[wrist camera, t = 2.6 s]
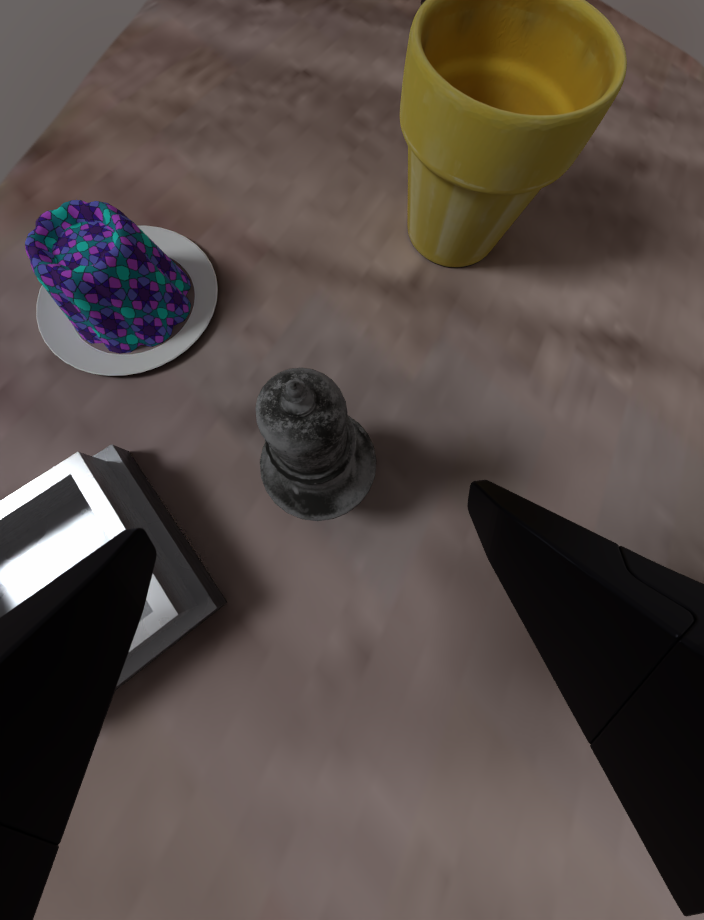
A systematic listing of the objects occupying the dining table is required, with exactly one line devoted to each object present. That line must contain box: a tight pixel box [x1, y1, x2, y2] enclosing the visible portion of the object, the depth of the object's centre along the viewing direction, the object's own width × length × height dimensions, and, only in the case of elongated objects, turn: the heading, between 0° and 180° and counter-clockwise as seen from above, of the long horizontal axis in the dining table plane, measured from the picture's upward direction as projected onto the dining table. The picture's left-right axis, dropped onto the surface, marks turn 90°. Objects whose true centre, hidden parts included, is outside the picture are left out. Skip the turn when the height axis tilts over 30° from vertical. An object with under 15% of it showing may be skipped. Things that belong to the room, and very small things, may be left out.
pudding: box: [25, 200, 218, 376], centre depth 20 cm, size 12×12×5 cm
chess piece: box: [256, 368, 376, 521], centre depth 14 cm, size 6×6×12 cm
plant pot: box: [400, 0, 627, 267], centre depth 20 cm, size 10×10×10 cm
